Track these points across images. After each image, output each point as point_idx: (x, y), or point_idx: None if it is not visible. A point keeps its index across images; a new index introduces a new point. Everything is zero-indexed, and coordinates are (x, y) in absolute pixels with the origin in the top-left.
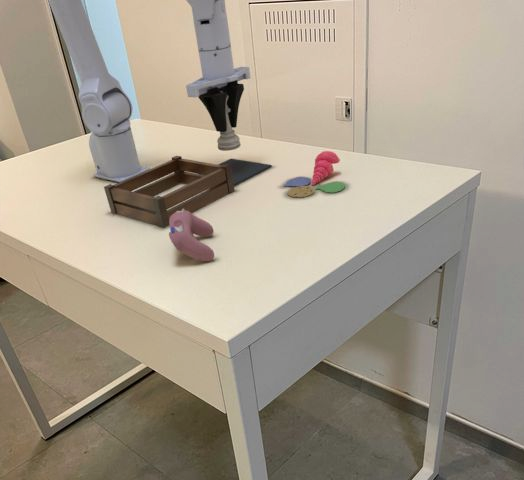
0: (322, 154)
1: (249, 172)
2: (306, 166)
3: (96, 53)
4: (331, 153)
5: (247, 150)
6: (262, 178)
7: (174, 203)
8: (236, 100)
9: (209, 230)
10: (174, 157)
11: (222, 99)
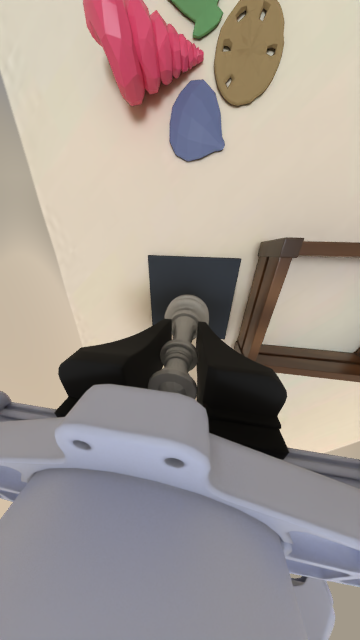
0: (119, 8)
1: (188, 269)
2: (118, 188)
3: None
4: None
5: (117, 333)
6: (196, 234)
7: None
8: (142, 342)
9: None
10: None
11: (233, 361)
